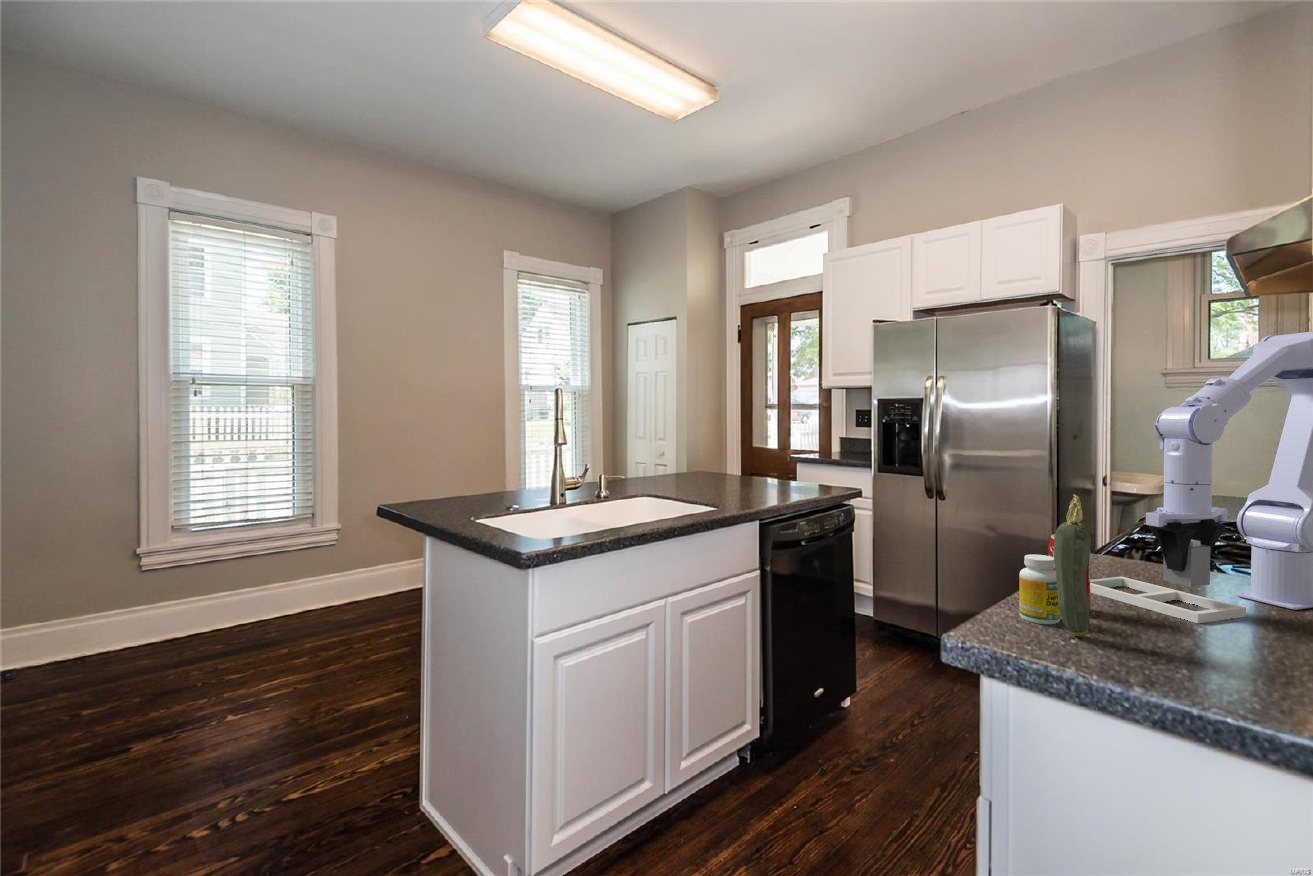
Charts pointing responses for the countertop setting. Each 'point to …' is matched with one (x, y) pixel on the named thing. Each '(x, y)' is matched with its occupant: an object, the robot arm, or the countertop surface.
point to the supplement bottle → (1038, 590)
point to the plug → (1192, 567)
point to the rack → (1163, 594)
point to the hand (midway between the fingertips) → (1186, 568)
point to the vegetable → (1072, 569)
